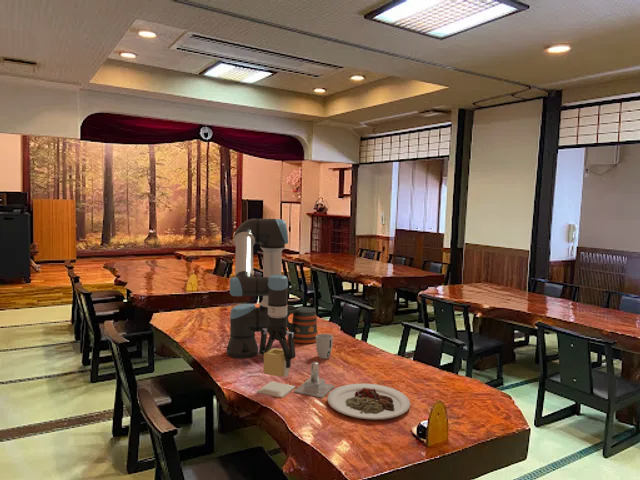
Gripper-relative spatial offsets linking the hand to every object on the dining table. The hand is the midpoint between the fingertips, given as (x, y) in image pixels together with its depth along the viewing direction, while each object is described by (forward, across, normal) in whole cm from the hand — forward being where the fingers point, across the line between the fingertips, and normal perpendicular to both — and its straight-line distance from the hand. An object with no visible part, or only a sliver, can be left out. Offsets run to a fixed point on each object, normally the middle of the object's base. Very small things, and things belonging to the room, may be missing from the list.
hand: (276, 373), depth 183 cm
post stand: (+7, +13, +7) cm, 16 cm away
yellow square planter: (-1, 0, 0) cm, 1 cm away
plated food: (+7, +36, +4) cm, 37 cm away
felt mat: (+7, 0, 0) cm, 7 cm away
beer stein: (+6, -20, +62) cm, 66 cm away
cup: (+7, +1, +44) cm, 45 cm away
